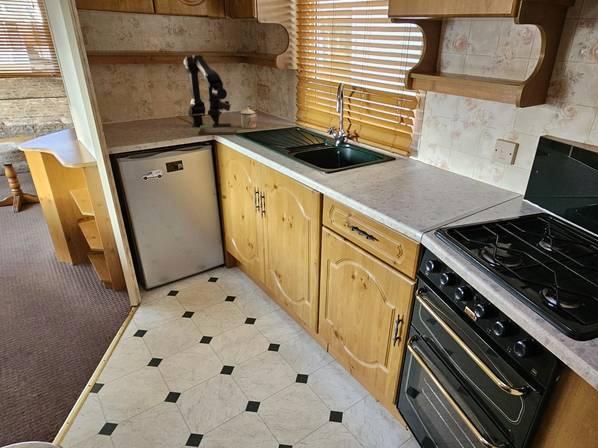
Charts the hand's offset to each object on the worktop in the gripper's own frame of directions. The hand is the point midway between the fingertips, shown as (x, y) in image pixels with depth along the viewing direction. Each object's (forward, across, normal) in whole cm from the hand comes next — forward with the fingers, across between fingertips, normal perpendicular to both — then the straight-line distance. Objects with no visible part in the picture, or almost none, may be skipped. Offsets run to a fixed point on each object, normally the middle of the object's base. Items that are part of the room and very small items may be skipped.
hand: (217, 125), depth 230 cm
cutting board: (+5, +1, 0) cm, 5 cm away
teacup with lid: (+5, +18, -18) cm, 26 cm away
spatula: (+1, 0, +1) cm, 2 cm away
